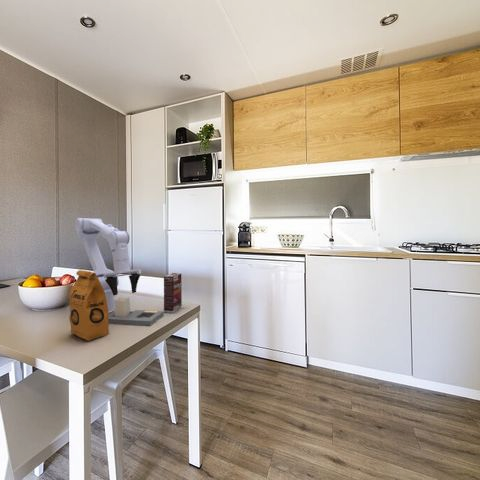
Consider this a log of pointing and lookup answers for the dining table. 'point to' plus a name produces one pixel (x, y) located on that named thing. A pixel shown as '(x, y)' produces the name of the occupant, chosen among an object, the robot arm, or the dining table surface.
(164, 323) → the dining table surface
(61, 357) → the dining table surface
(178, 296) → the supplement box
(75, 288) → the coffee package
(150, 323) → the jack panel
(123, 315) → the plug block
